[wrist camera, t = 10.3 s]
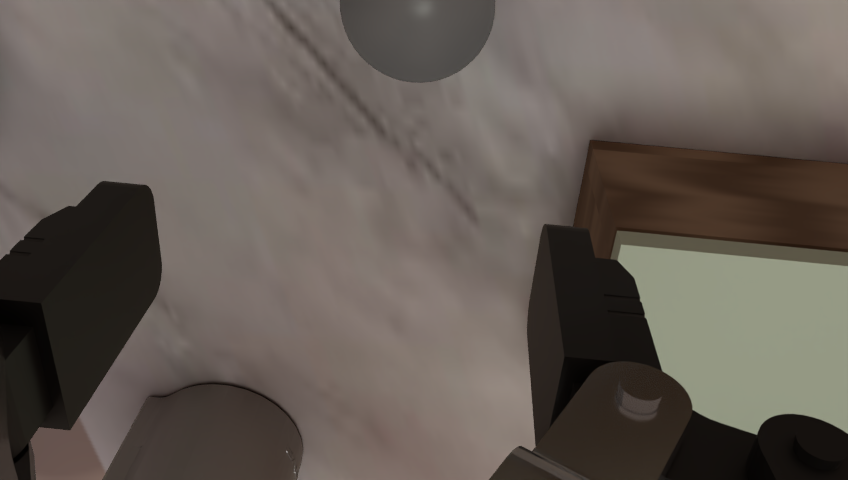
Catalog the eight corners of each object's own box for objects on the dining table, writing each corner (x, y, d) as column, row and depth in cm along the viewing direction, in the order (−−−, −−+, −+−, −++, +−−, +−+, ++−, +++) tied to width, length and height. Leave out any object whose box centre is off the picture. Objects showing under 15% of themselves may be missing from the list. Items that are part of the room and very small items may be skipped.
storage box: (546, 360, 42) (558, 474, 35) (590, 140, 35) (615, 226, 28) (806, 386, 41) (869, 506, 35) (899, 168, 35) (1001, 263, 28)
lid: (559, 479, 35) (566, 545, 32) (616, 230, 28) (632, 284, 25) (872, 511, 34) (910, 580, 31) (1006, 267, 28) (1070, 326, 25)
